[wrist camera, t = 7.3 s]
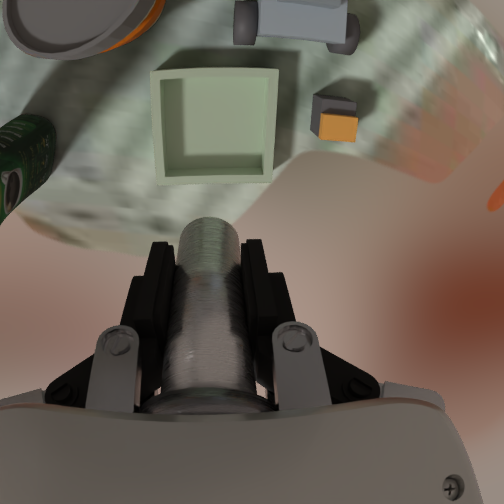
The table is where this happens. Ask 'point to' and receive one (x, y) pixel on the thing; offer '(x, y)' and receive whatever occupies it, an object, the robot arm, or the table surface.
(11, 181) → the coffee jar
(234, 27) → the toy car
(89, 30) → the reusable coffee cup
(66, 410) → the robot arm
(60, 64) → the table surface
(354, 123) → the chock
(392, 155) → the table surface
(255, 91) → the tray
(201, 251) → the pin
